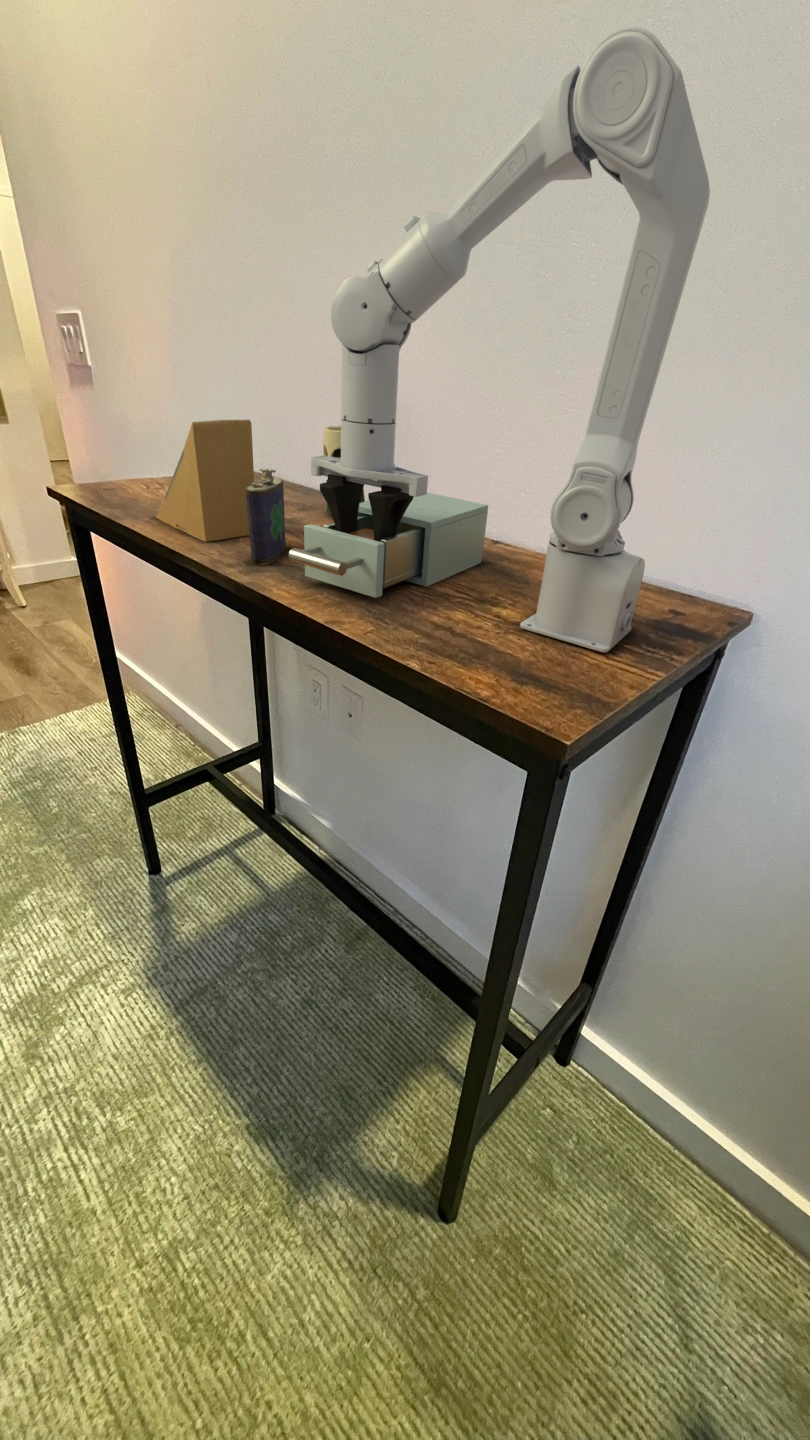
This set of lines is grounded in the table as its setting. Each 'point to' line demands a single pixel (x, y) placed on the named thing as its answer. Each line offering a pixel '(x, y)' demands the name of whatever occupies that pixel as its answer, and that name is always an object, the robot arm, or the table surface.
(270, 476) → the flask
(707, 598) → the table surface
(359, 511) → the cabinet
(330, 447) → the character mug
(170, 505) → the sandwich container
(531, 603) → the table surface
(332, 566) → the drawer
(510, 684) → the table surface
